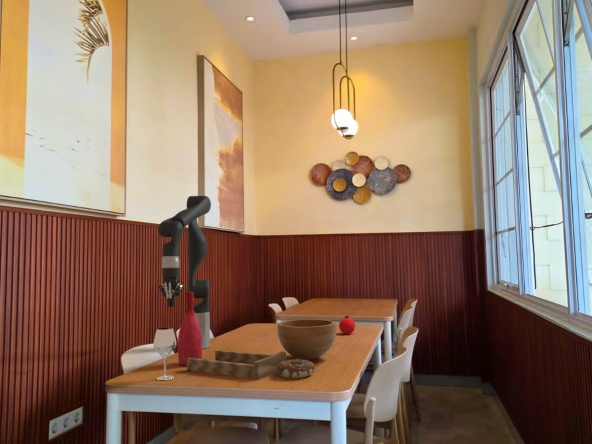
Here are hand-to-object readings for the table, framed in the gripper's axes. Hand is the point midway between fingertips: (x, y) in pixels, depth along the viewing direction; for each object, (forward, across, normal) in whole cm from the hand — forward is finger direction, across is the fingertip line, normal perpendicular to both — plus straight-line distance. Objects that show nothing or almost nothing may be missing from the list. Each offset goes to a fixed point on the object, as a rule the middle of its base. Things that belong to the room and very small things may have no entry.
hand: (171, 307), depth 200 cm
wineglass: (+24, +19, -22) cm, 37 cm away
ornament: (+23, +42, +92) cm, 104 cm away
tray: (+23, +34, 0) cm, 41 cm away
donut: (+24, +60, +2) cm, 65 cm away
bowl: (+24, +52, +27) cm, 63 cm away
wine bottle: (+23, +11, 0) cm, 26 cm away
